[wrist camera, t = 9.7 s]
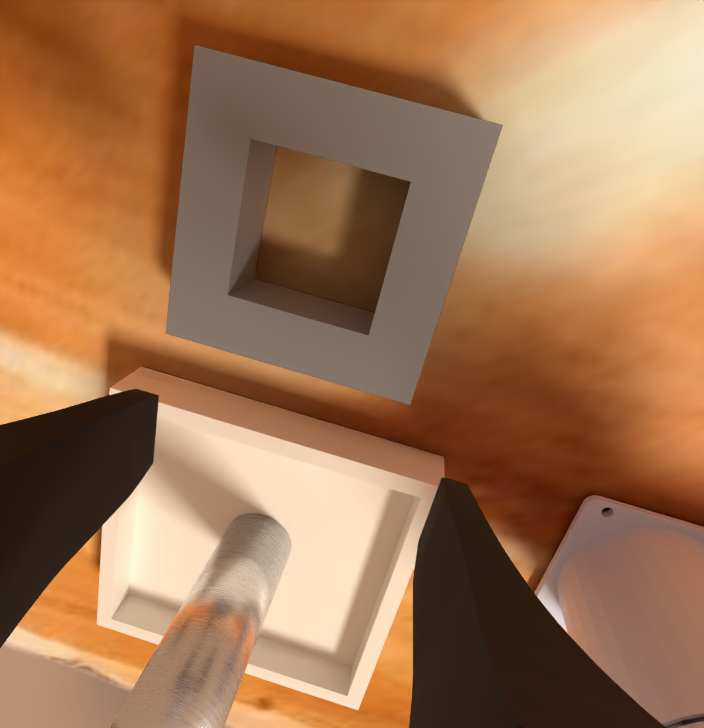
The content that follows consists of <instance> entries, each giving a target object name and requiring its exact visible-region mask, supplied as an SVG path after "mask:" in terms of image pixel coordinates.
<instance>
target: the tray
mask: <svg viewBox="0 0 704 728" xmlns="http://www.w3.org/2000/svg"><path fill="white" fill-rule="evenodd" d="M132 389H139V390H142V391H146V392H149V393H153V394H156V395H159V401H158V413H157V425H156V437H155V448H154V460H153V464H152V466H151V467H150V469H149V470H148V471H147V473H146V474H145V476H144V477H143V479H142V480H141V482H140V483H139V484H138V486H137V487H136V488H135V490H134V491H133V493H132V494H131V495H130V496H129V497H128V499H127V500H126V501H125V502H124V503H123V504H122V505H121V506H120V507H119V508H118V509H117V510H116V512H115V513H114V514H113V515H112V516H111V517H110V518H109V519H108V520H107V521H106V522H105V523H104V524H103V525H102V540H101V558H100V576H99V595H98V613H97V625H100V626H103V627H106V628H109V629H112V630H115V631H118V632H121V633H124V634H127V635H130V636H133V637H136V638H140V639H143V640H146V641H149V642H152V643H155V644H158V645H159V643H160V642H161V640H162V638H163V637H164V635H165V633H166V631H167V630H168V628H169V626H170V625H171V623H172V621H173V619H174V618H175V616H176V614H177V613H178V611H179V609H180V608H181V606H182V604H183V602H184V601H185V599H186V597H187V596H188V594H189V592H190V590H191V589H192V587H193V585H194V584H195V582H196V580H197V579H198V577H199V575H200V573H201V572H202V570H203V568H204V567H205V565H206V563H207V561H208V560H209V558H210V556H211V555H212V553H213V551H214V550H215V548H216V546H217V544H218V543H219V541H220V539H221V538H222V536H223V534H224V533H225V531H226V529H227V527H228V526H229V524H230V523H231V521H232V520H233V519H235V518H236V517H238V516H240V515H243V514H248V513H257V514H262V515H265V516H268V517H270V518H272V519H274V520H276V521H277V522H278V523H280V524H281V525H282V526H283V527H284V528H285V530H286V531H287V533H288V534H289V536H290V539H291V544H292V549H291V553H290V556H289V559H288V561H287V564H286V566H285V569H284V572H283V574H282V577H281V579H280V582H279V585H278V587H277V590H276V592H275V595H274V598H273V600H272V603H271V605H270V608H269V611H268V613H267V616H266V618H265V621H264V624H263V626H262V629H261V631H260V634H259V637H258V639H257V642H256V644H255V647H254V650H253V652H252V655H251V657H250V660H249V662H248V665H247V668H246V670H245V673H246V674H249V675H252V676H255V677H258V678H261V679H264V680H267V681H271V682H274V683H277V684H280V685H283V686H286V687H289V688H292V689H295V690H298V691H301V692H304V693H307V694H310V695H313V696H316V697H319V698H322V699H325V700H328V701H331V702H335V703H338V704H341V705H344V706H347V707H350V708H353V709H356V710H358V709H359V707H360V704H361V701H362V699H363V696H364V694H365V691H366V689H367V686H368V684H369V681H370V678H371V676H372V673H373V671H374V668H375V666H376V663H377V661H378V658H379V655H380V653H381V650H382V648H383V645H384V643H385V640H386V638H387V635H388V633H389V630H390V627H391V625H392V622H393V620H394V617H395V615H396V612H397V610H398V607H399V604H400V602H401V599H402V597H403V594H404V592H405V589H406V587H407V584H408V581H409V579H410V576H411V574H412V571H413V569H414V566H415V562H416V554H417V546H418V541H419V538H420V535H421V533H422V530H423V527H424V524H425V522H426V519H427V516H428V513H429V511H430V508H431V505H432V502H433V500H434V497H435V494H436V491H437V489H438V486H439V483H440V481H441V478H442V477H444V478H445V474H444V457H443V456H440V455H437V454H433V453H430V452H427V451H423V450H420V449H417V448H413V447H410V446H407V445H403V444H400V443H397V442H393V441H390V440H386V439H383V438H380V437H376V436H373V435H370V434H366V433H363V432H360V431H356V430H353V429H350V428H346V427H343V426H339V425H336V424H333V423H329V422H326V421H323V420H319V419H316V418H313V417H309V416H306V415H303V414H299V413H296V412H292V411H289V410H286V409H282V408H279V407H276V406H272V405H269V404H266V403H262V402H259V401H256V400H252V399H249V398H245V397H242V396H239V395H235V394H232V393H229V392H225V391H222V390H219V389H215V388H212V387H209V386H205V385H202V384H198V383H195V382H192V381H188V380H185V379H182V378H178V377H175V376H172V375H168V374H165V373H162V372H158V371H155V370H151V369H148V368H145V367H139V368H138V369H137V370H135V371H134V372H132V373H131V374H129V375H128V376H126V377H125V378H123V379H122V380H120V381H119V382H117V383H116V384H114V385H113V386H111V387H110V393H109V395H112V394H116V393H119V392H123V391H127V390H132Z"/></svg>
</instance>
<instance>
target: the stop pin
mask: <svg viewBox="0 0 704 728" xmlns="http://www.w3.org/2000/svg"><path fill="white" fill-rule="evenodd" d="M291 549H292V544H291V539H290V536H289V534H288V533H287V531H286V530H285V528H284V527H283V526H282V525H281V524H280V523H278V522H277V521H276V520H274V519H272V518H270V517H268V516H265V515H262V514H257V513H248V514H243V515H240V516H238V517H236V518H235V519H233V520H232V521H231V523H230V524H229V526H228V527H227V529H226V531H225V533H224V534H223V536H222V538H221V539H220V541H219V543H218V544H217V546H216V548H215V550H214V551H213V553H212V555H211V556H210V558H209V560H208V561H207V563H206V565H205V567H204V568H203V570H202V572H201V573H200V575H199V577H198V579H197V580H196V582H195V584H194V585H193V587H192V589H191V590H190V592H189V594H188V596H187V597H186V599H185V601H184V602H183V604H182V606H181V608H180V609H179V611H178V613H177V614H176V616H175V618H174V619H173V621H172V623H171V625H170V626H169V628H168V630H167V631H166V633H165V635H164V637H163V638H162V640H161V642H160V643H159V645H158V647H157V648H156V650H155V652H154V654H153V655H152V657H151V659H150V660H149V662H148V664H147V665H146V667H145V669H144V671H143V672H142V674H141V676H140V677H139V679H138V681H137V683H136V684H135V686H134V688H133V689H132V691H131V693H130V695H129V696H128V698H127V700H126V701H125V703H124V705H123V707H122V708H121V710H120V712H119V713H118V715H117V717H116V718H115V720H114V722H113V724H112V726H111V728H223V727H224V725H225V722H226V720H227V717H228V714H229V712H230V709H231V707H232V704H233V701H234V699H235V696H236V694H237V691H238V688H239V686H240V683H241V681H242V678H243V675H244V673H245V670H246V668H247V665H248V662H249V660H250V657H251V655H252V652H253V650H254V647H255V644H256V642H257V639H258V637H259V634H260V631H261V629H262V626H263V624H264V621H265V618H266V616H267V613H268V611H269V608H270V605H271V603H272V600H273V598H274V595H275V592H276V590H277V587H278V585H279V582H280V579H281V577H282V574H283V572H284V569H285V566H286V564H287V561H288V559H289V556H290V553H291Z"/></svg>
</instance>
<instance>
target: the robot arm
mask: <svg viewBox="0 0 704 728" xmlns="http://www.w3.org/2000/svg"><path fill="white" fill-rule="evenodd" d="M158 401H159V395H156V394H153V393H149V392H146V391H142V390H139V389H132V390H127V391H123V392H119V393H116V394H112V395H108V396H105V397H102V398H98V399H95V400H92V401H88V402H85V403H81V404H78V405H75V406H71V407H68V408H64V409H61V410H57V411H54V412H50V413H46V414H42V415H38V416H35V417H31V418H27V419H23V420H19V421H15V422H11V423H7V424H3V425H0V648H1V647H2V645H3V644H4V642H5V641H6V640H7V638H8V637H9V636H10V634H11V633H12V632H13V630H14V629H15V627H16V626H17V625H18V623H19V622H20V621H21V619H22V618H23V617H24V615H25V614H26V613H27V612H28V610H29V609H30V608H31V606H32V605H33V604H34V602H35V601H36V600H37V599H38V597H39V596H40V595H41V593H42V592H43V591H44V590H45V588H46V587H47V586H48V584H49V583H50V582H51V581H52V579H53V578H54V577H55V576H56V575H57V574H58V573H59V571H60V570H61V569H62V568H63V567H64V566H65V565H66V563H67V562H68V561H69V560H70V559H71V558H72V557H73V556H74V555H75V554H76V553H77V552H78V551H79V550H80V549H81V548H82V547H83V545H84V544H85V543H86V542H87V541H88V540H89V539H90V538H91V537H92V536H93V535H94V534H95V533H96V532H97V531H98V530H99V529H100V528H101V526H102V525H103V524H104V523H105V522H106V521H107V520H108V519H109V518H110V517H111V516H112V515H113V514H114V513H115V512H116V510H117V509H118V508H119V507H120V506H121V505H122V504H123V503H124V502H125V501H126V500H127V499H128V497H129V496H130V495H131V494H132V493H133V491H134V490H135V488H136V487H137V486H138V484H139V483H140V482H141V480H142V479H143V477H144V476H145V474H146V473H147V471H148V470H149V469H150V467H151V466H152V464H153V460H154V448H155V437H156V425H157V413H158ZM604 508H611V509H610V510H609V511H606V512H602V510H603V509H604ZM409 728H704V527H703V526H699V525H696V524H693V523H689V522H686V521H683V520H679V519H676V518H673V517H669V516H666V515H662V514H659V513H656V512H652V511H649V510H646V509H642V508H639V507H636V506H632V505H629V504H625V503H622V502H619V501H615V500H612V499H609V498H605V497H602V496H598V495H592V496H589V497H587V498H585V500H584V501H583V503H582V504H581V506H580V508H579V510H578V512H577V514H576V516H575V517H574V519H573V521H572V523H571V525H570V527H569V529H568V531H567V532H566V534H565V536H564V538H563V540H562V542H561V544H560V545H559V547H558V549H557V551H556V553H555V555H554V557H553V559H552V560H551V562H550V564H549V566H548V568H547V570H546V572H545V574H544V575H543V577H542V579H541V581H540V583H539V585H538V587H537V588H536V590H535V592H533V591H532V590H531V588H530V587H529V586H528V584H527V583H526V581H525V580H524V579H523V577H522V576H521V574H520V573H519V571H518V570H517V568H516V567H515V566H514V564H513V563H512V561H511V560H510V558H509V557H508V555H507V553H506V552H505V550H504V549H503V547H502V546H501V544H500V542H499V541H498V539H497V537H496V536H495V534H494V532H493V531H492V529H491V527H490V525H489V524H488V522H487V520H486V518H485V516H484V515H483V513H482V511H481V509H480V507H479V506H478V504H477V502H476V500H475V498H474V496H473V495H472V493H471V491H470V489H469V487H468V486H467V484H464V483H461V482H457V481H454V480H450V479H447V478H444V477H442V478H441V481H440V483H439V486H438V489H437V491H436V494H435V497H434V500H433V502H432V505H431V508H430V511H429V513H428V516H427V519H426V522H425V524H424V527H423V530H422V533H421V535H420V538H419V541H418V546H417V554H416V562H415V570H414V578H413V689H412V703H411V714H410V724H409Z"/></svg>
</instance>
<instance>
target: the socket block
mask: <svg viewBox="0 0 704 728" xmlns="http://www.w3.org/2000/svg"><path fill="white" fill-rule="evenodd" d="M502 126H503V125H501V124H497V123H493V122H489V121H485V120H481V119H478V118H474V117H470V116H466V115H462V114H458V113H455V112H451V111H447V110H443V109H439V108H435V107H432V106H428V105H424V104H420V103H416V102H412V101H409V100H405V99H401V98H397V97H393V96H389V95H386V94H382V93H378V92H374V91H370V90H366V89H363V88H359V87H355V86H351V85H347V84H343V83H340V82H336V81H332V80H328V79H324V78H320V77H316V76H313V75H309V74H305V73H301V72H297V71H293V70H290V69H286V68H282V67H278V66H274V65H270V64H267V63H263V62H259V61H255V60H251V59H247V58H244V57H240V56H236V55H232V54H228V53H224V52H221V51H217V50H213V49H209V48H205V47H201V46H198V45H194V54H193V64H192V74H191V84H190V94H189V104H188V114H187V124H186V134H185V144H184V154H183V164H182V174H181V184H180V194H179V204H178V214H177V224H176V234H175V244H174V254H173V264H172V274H171V284H170V294H169V304H168V314H167V324H166V334H169V335H173V336H176V337H180V338H183V339H186V340H190V341H193V342H197V343H200V344H203V345H207V346H210V347H214V348H217V349H220V350H224V351H227V352H231V353H234V354H237V355H241V356H244V357H248V358H251V359H255V360H258V361H261V362H265V363H268V364H272V365H275V366H278V367H282V368H285V369H289V370H292V371H295V372H299V373H302V374H306V375H309V376H312V377H316V378H319V379H323V380H326V381H329V382H333V383H336V384H340V385H343V386H347V387H350V388H353V389H357V390H360V391H364V392H367V393H370V394H374V395H377V396H381V397H384V398H387V399H391V400H394V401H398V402H401V403H404V404H408V405H410V404H411V401H412V398H413V395H414V392H415V389H416V386H417V383H418V380H419V377H420V374H421V371H422V368H423V365H424V362H425V359H426V356H427V353H428V350H429V347H430V344H431V341H432V338H433V335H434V332H435V329H436V326H437V323H438V320H439V317H440V314H441V310H442V307H443V304H444V301H445V298H446V295H447V292H448V289H449V286H450V283H451V280H452V277H453V274H454V271H455V268H456V265H457V262H458V259H459V256H460V253H461V250H462V247H463V244H464V241H465V238H466V235H467V232H468V229H469V226H470V223H471V220H472V217H473V214H474V211H475V208H476V204H477V201H478V198H479V195H480V192H481V189H482V186H483V183H484V180H485V177H486V174H487V171H488V168H489V165H490V162H491V159H492V156H493V153H494V150H495V147H496V144H497V141H498V138H499V135H500V132H501V129H502ZM277 146H280V147H283V148H287V149H291V150H295V151H298V152H302V153H306V154H309V155H313V156H317V157H321V158H324V159H328V160H332V161H335V162H339V163H343V164H347V165H350V166H354V167H358V168H361V169H365V170H369V171H373V172H376V173H380V174H384V175H387V176H391V177H395V178H399V179H402V180H406V181H410V182H411V183H410V187H409V190H408V194H407V198H406V201H405V205H404V209H403V212H402V216H401V220H400V223H399V227H398V230H397V234H396V238H395V241H394V245H393V249H392V252H391V256H390V260H389V263H388V267H387V271H386V274H385V278H384V281H383V285H382V289H381V292H380V296H379V300H378V303H377V307H376V311H375V313H374V312H370V311H367V310H363V309H360V308H356V307H353V306H349V305H346V304H342V303H339V302H335V301H332V300H328V299H324V298H321V297H317V296H314V295H310V294H307V293H303V292H300V291H296V290H293V289H289V288H286V287H282V286H279V285H275V284H272V283H268V282H265V281H261V280H258V279H254V278H255V272H256V266H257V260H258V254H259V248H260V242H261V236H262V230H263V224H264V218H265V212H266V206H267V200H268V194H269V188H270V182H271V176H272V170H273V165H274V159H275V153H276V147H277Z"/></svg>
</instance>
